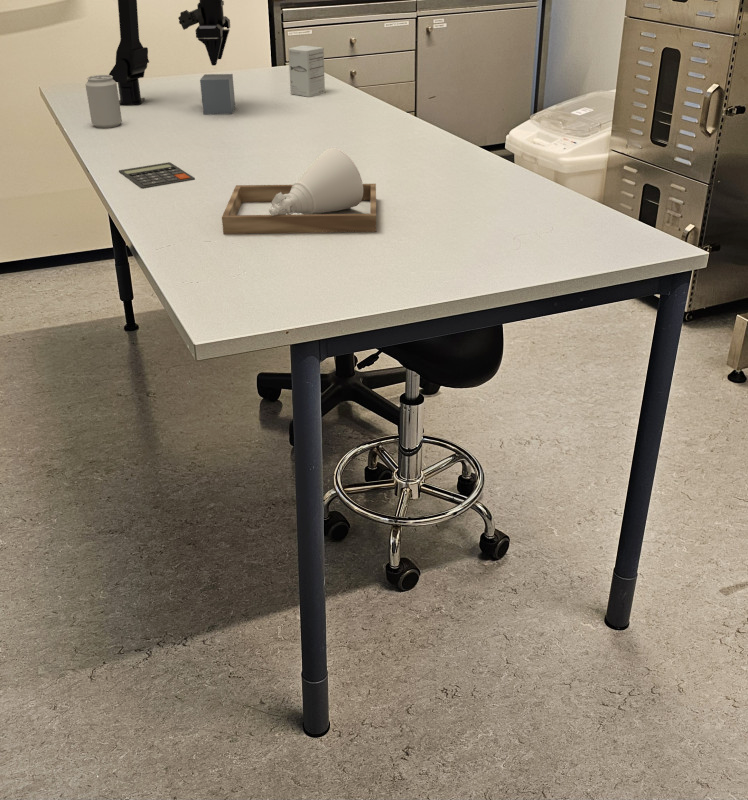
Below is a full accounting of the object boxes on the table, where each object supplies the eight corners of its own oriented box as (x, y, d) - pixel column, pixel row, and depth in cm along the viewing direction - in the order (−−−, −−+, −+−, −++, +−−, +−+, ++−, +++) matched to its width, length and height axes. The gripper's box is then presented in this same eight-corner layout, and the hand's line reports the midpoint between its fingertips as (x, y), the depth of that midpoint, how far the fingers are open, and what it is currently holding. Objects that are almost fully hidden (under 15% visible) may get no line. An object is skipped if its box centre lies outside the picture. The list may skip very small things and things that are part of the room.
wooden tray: (237, 200, 179) (235, 185, 178) (376, 198, 179) (375, 183, 178) (223, 233, 163) (221, 217, 161) (376, 231, 163) (376, 215, 161)
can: (118, 128, 232) (110, 79, 226) (88, 129, 232) (80, 79, 226) (125, 121, 238) (118, 73, 232) (96, 121, 238) (89, 73, 233)
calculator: (141, 186, 187) (118, 169, 198) (141, 191, 187) (118, 173, 198) (195, 177, 192) (169, 161, 203) (195, 181, 192) (170, 165, 204)
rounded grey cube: (207, 108, 251) (204, 74, 246) (235, 107, 251) (232, 74, 246) (203, 114, 244) (199, 79, 240) (231, 114, 244) (228, 79, 240)
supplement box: (289, 94, 265) (287, 48, 259) (306, 90, 270) (304, 44, 264) (309, 97, 261) (307, 50, 255) (326, 93, 266) (324, 46, 260)
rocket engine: (258, 174, 158) (335, 136, 166) (239, 205, 168) (313, 167, 176) (297, 230, 158) (372, 188, 166) (276, 257, 168) (347, 217, 177)
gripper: (185, -7, 242) (192, 56, 249) (171, 2, 225) (179, 69, 233) (227, -7, 242) (233, 55, 249) (217, 1, 225) (223, 68, 233)
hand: (216, 62), depth 241 cm, fingers open, 9 cm apart
